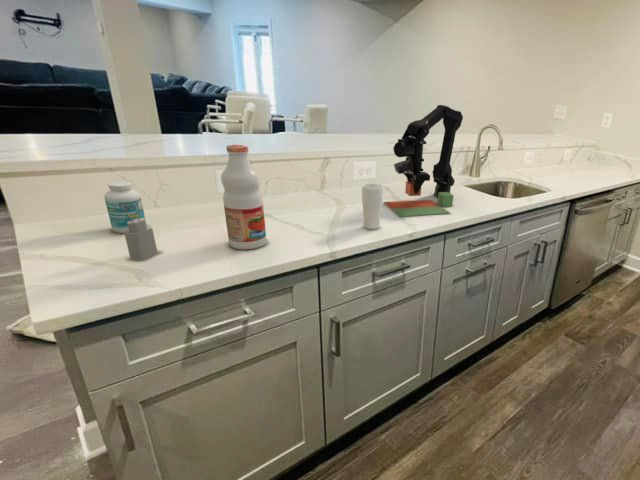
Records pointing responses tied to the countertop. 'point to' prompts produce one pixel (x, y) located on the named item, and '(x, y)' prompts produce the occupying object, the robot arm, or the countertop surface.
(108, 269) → the countertop surface
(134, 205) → the pill bottle
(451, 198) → the sage block
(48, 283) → the countertop surface
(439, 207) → the sorting mat
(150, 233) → the power adapter
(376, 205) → the drinking glass
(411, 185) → the terracotta block
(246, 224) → the fruit juice
